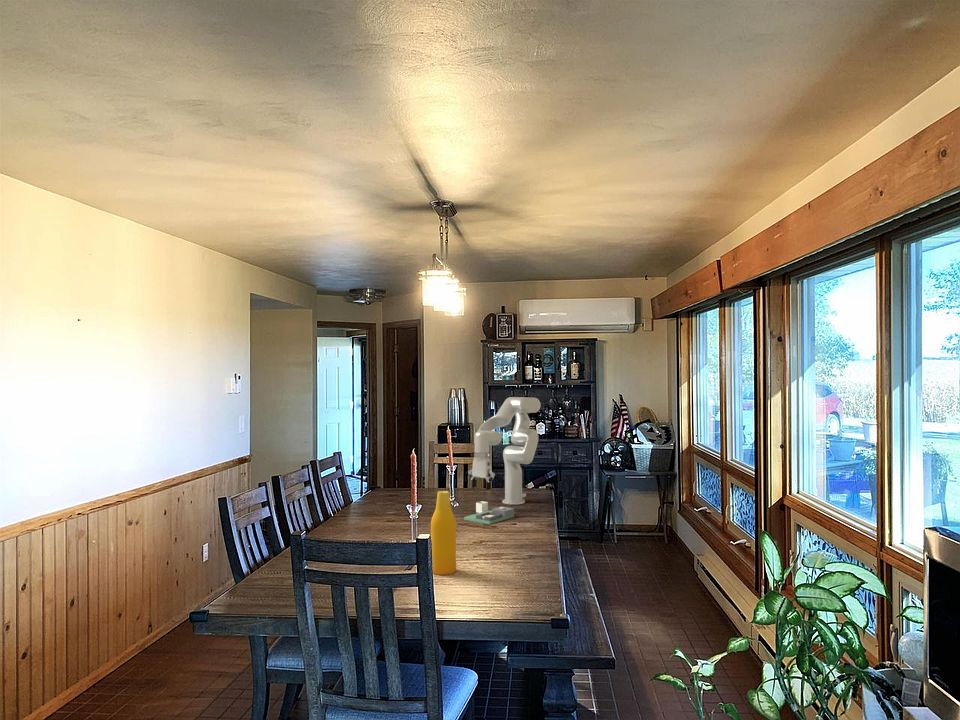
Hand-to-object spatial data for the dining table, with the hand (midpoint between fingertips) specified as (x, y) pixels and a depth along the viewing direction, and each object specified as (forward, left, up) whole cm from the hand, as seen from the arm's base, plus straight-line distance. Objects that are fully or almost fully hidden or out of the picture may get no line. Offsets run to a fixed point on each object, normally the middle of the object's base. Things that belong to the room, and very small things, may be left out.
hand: (481, 488), depth 333 cm
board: (+8, +12, -12) cm, 19 cm away
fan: (+2, +16, -11) cm, 20 cm away
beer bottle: (+85, +52, -12) cm, 101 cm away
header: (+12, +15, -11) cm, 22 cm away
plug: (-1, 0, -12) cm, 12 cm away
